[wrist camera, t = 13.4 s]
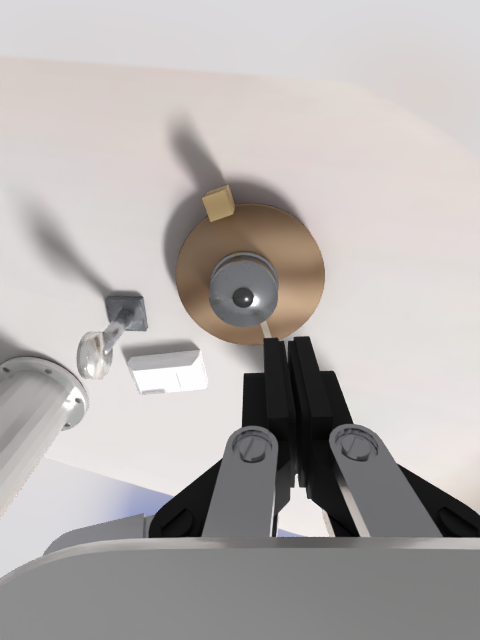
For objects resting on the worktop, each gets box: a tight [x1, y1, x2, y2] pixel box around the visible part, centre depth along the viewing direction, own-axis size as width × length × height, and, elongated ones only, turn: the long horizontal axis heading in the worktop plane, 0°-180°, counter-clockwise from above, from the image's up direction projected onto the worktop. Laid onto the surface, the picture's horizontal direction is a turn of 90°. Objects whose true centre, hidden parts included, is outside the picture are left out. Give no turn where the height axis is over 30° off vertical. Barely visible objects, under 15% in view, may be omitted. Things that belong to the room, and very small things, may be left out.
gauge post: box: [77, 296, 148, 380], centre depth 33 cm, size 4×4×11 cm
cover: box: [209, 250, 279, 327], centre depth 31 cm, size 7×7×4 cm
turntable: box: [176, 184, 325, 345], centre depth 31 cm, size 17×15×4 cm
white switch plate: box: [127, 350, 208, 395], centre depth 40 cm, size 5×9×3 cm, turn 99°
